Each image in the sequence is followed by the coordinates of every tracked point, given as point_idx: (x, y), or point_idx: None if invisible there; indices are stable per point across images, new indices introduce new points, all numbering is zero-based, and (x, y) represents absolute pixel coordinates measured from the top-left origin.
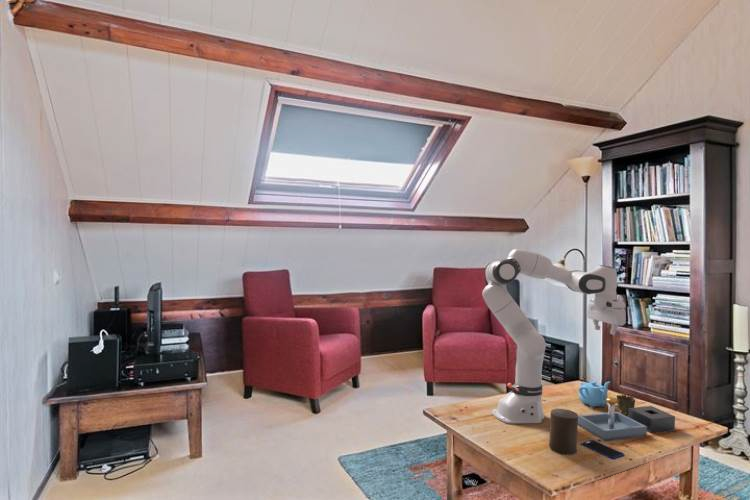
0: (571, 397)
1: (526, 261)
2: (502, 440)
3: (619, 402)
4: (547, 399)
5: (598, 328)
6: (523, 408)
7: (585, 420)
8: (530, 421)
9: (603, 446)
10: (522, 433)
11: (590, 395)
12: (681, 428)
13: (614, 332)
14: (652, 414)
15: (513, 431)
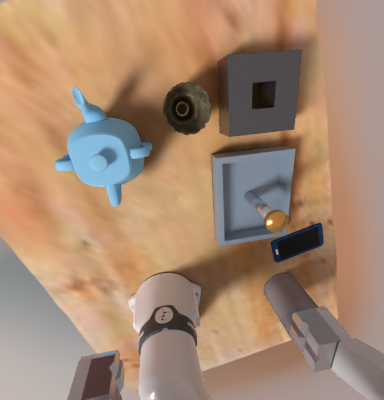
0: (59, 175)
1: None
2: (240, 337)
3: (188, 131)
4: (79, 235)
5: (115, 374)
6: (197, 326)
7: (240, 242)
8: (199, 301)
9: (294, 239)
10: (227, 315)
11: (132, 178)
12: (277, 24)
13: (333, 325)
14: (275, 104)
15: (219, 323)
